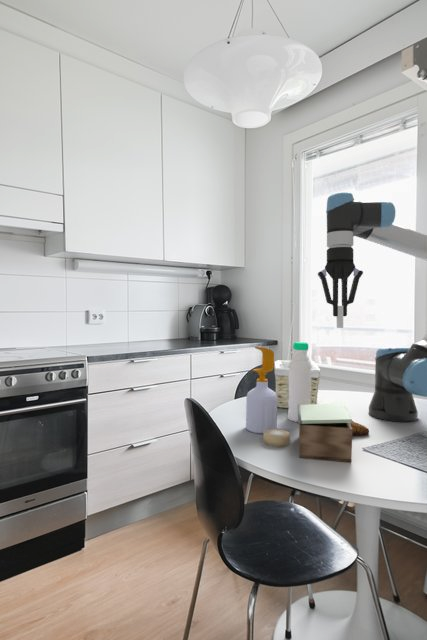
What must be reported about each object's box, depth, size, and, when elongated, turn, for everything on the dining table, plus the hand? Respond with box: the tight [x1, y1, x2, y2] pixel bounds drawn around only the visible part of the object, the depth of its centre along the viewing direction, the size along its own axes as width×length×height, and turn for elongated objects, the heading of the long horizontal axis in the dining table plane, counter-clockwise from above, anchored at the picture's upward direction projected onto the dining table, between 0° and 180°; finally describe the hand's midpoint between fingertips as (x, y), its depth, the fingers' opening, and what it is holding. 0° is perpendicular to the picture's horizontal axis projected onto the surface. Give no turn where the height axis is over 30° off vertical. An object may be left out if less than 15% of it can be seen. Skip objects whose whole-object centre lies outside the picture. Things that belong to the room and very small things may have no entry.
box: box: [298, 423, 353, 463], centre depth 104 cm, size 12×16×8 cm
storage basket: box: [273, 359, 321, 409], centre depth 153 cm, size 24×16×15 cm
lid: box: [297, 402, 353, 424], centre depth 104 cm, size 12×16×1 cm
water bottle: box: [287, 341, 312, 423], centre depth 129 cm, size 7×7×25 cm
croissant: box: [350, 420, 370, 436], centre depth 116 cm, size 14×7×5 cm, turn 82°
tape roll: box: [262, 428, 291, 448], centre depth 108 cm, size 7×7×2 cm
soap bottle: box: [245, 346, 278, 435], centre depth 119 cm, size 9×9×25 cm
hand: (339, 327), depth 119 cm, fingers closed
